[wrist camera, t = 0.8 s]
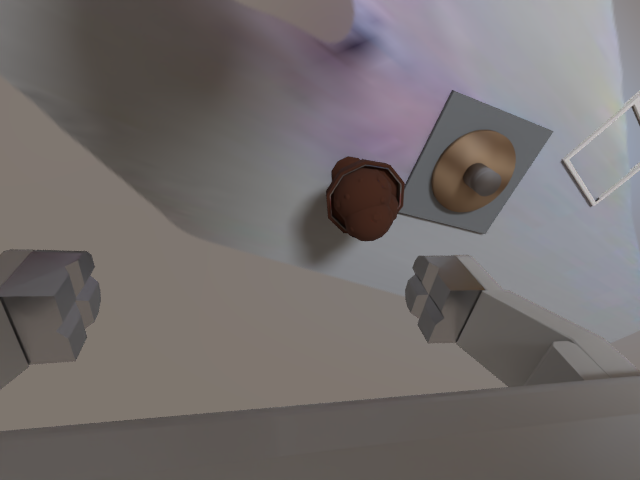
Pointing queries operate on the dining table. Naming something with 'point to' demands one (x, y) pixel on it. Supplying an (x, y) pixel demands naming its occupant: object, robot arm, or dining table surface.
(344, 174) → the ice cream bowl
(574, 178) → the photo frame
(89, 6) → the dining table surface
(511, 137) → the rubber mat
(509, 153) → the walnut lid
